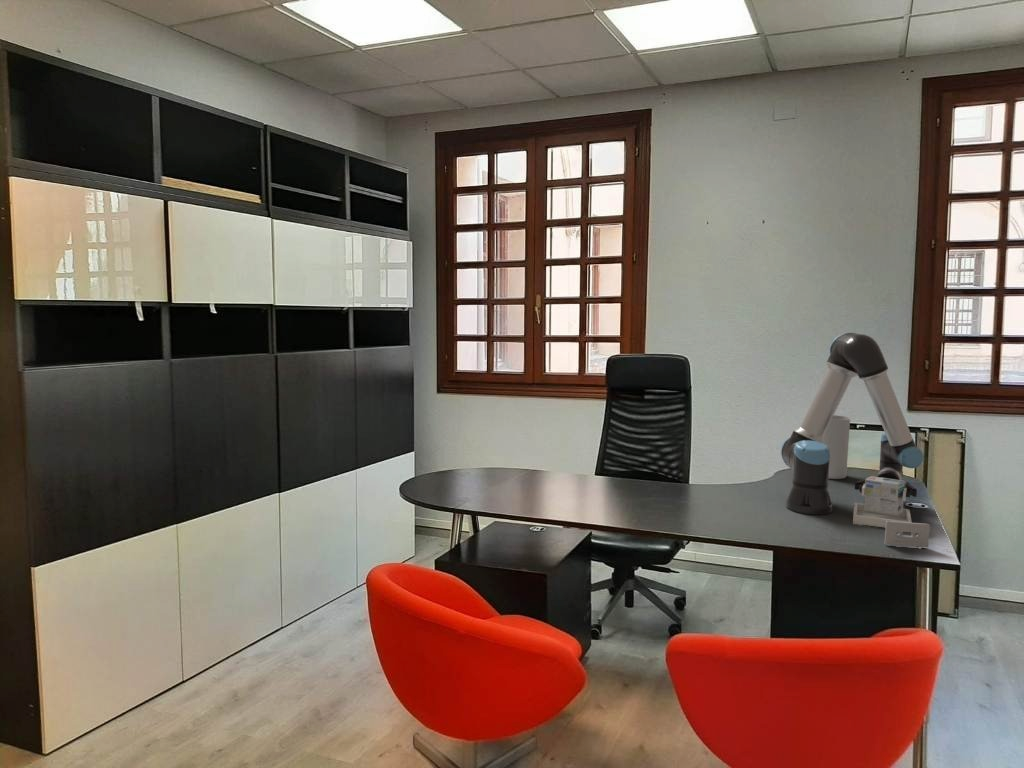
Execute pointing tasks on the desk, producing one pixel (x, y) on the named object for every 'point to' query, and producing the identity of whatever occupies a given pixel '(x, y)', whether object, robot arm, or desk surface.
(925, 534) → the cassette
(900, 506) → the light bulb box
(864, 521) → the holder tray
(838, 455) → the cylinder vase
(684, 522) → the desk surface
